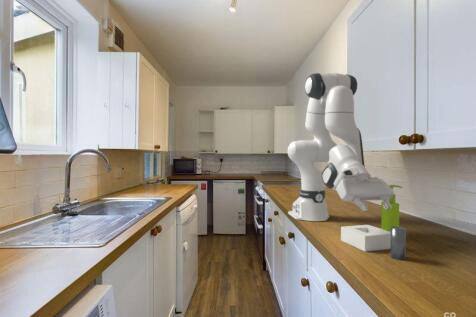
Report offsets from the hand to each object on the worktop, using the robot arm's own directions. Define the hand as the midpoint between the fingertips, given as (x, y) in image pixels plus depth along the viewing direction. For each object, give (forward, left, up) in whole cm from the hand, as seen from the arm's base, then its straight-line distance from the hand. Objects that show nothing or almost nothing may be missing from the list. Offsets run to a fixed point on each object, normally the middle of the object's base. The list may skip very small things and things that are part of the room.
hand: (377, 209), depth 89 cm
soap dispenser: (-9, +15, -14) cm, 22 cm away
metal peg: (+8, 0, -13) cm, 15 cm away
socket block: (-5, 0, -13) cm, 14 cm away
